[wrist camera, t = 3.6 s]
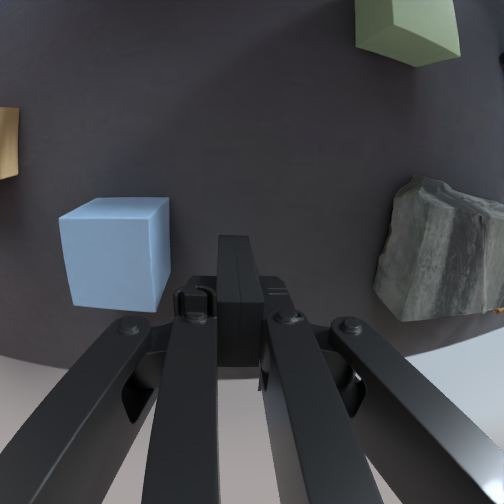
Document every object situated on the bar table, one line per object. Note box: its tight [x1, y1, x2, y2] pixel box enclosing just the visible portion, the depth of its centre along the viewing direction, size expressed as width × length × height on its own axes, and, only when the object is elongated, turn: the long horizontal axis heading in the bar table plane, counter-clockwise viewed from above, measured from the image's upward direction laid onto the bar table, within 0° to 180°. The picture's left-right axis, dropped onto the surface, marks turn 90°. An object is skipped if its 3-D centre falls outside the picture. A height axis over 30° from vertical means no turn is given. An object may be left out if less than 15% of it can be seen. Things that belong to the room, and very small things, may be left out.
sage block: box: [355, 0, 460, 67], centre depth 11 cm, size 5×5×5 cm
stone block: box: [372, 175, 504, 322], centre depth 17 cm, size 9×14×5 cm, turn 87°
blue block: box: [59, 197, 171, 312], centre depth 15 cm, size 5×5×5 cm
